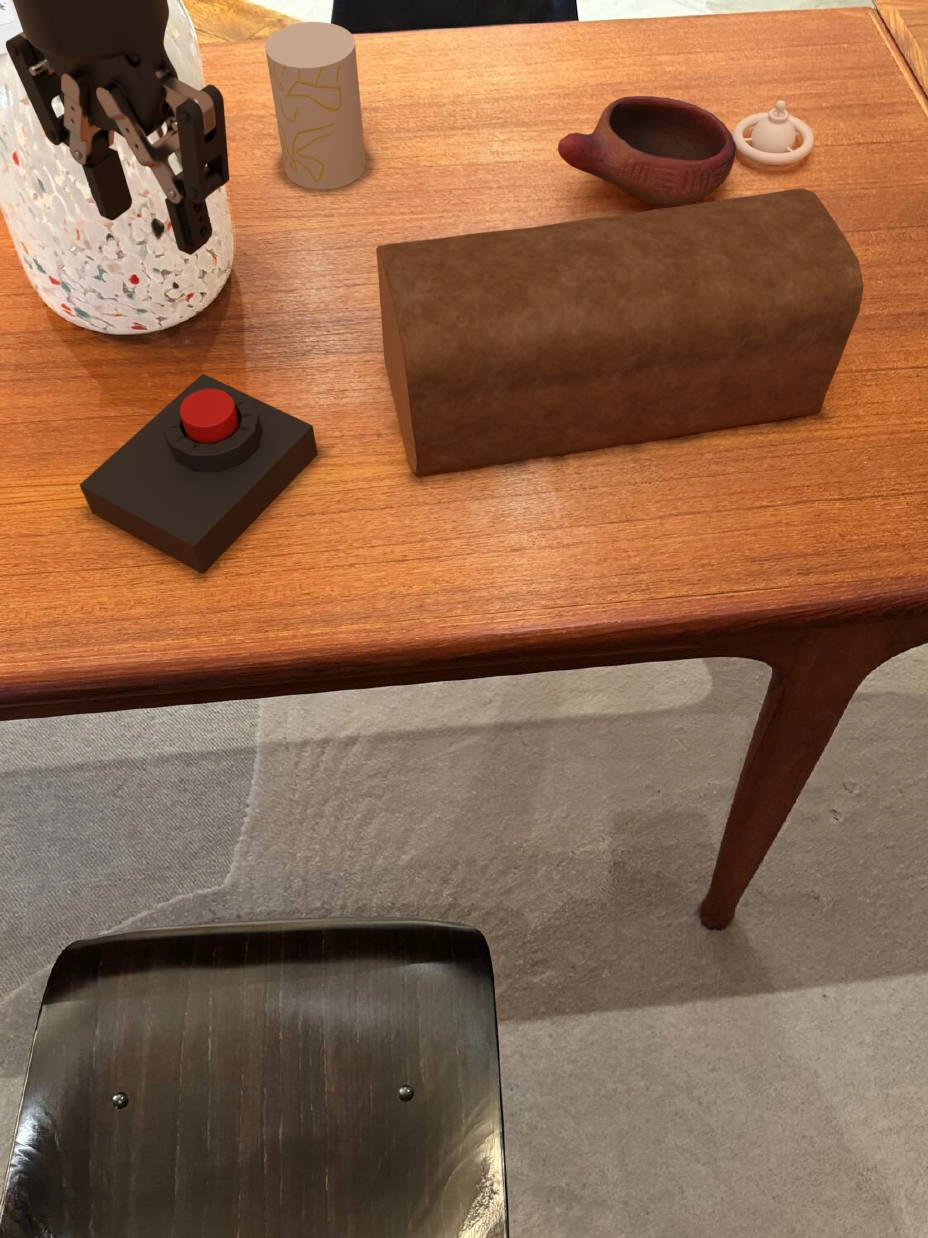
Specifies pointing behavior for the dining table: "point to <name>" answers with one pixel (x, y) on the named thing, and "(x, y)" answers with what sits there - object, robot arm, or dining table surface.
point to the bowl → (655, 150)
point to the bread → (614, 328)
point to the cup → (317, 104)
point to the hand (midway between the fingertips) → (156, 228)
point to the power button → (209, 415)
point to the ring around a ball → (773, 137)
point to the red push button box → (200, 477)
